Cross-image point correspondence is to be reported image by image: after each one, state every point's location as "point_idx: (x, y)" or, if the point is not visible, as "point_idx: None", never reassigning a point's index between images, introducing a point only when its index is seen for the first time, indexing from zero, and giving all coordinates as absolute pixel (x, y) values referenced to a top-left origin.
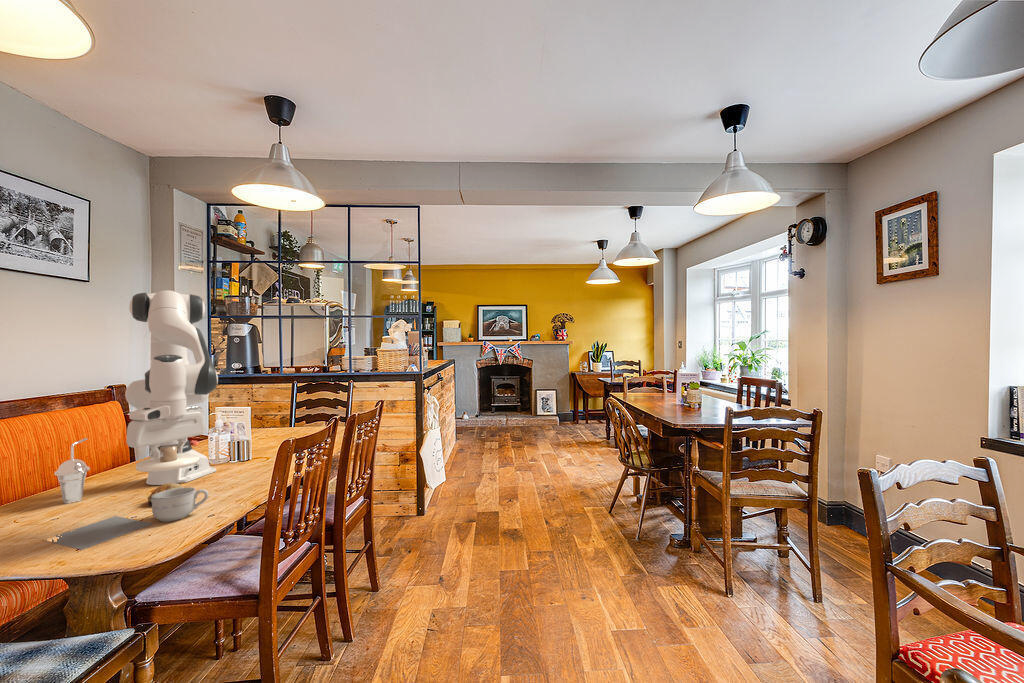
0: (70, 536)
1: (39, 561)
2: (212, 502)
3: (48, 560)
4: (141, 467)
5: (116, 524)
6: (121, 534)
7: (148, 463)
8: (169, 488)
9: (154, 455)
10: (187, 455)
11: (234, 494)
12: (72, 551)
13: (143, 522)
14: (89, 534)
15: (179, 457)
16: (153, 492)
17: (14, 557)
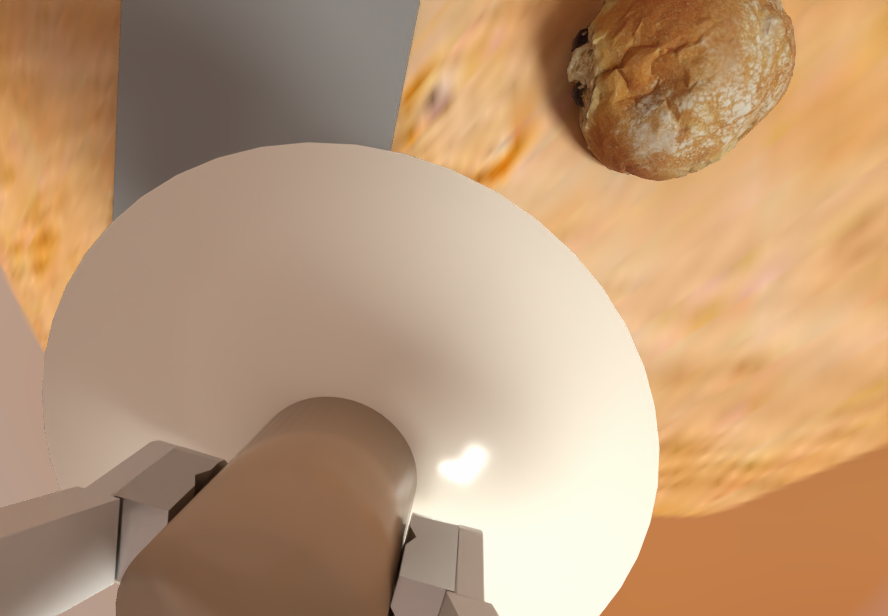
0: (182, 37)
1: (23, 153)
2: (646, 344)
3: (38, 179)
4: (46, 400)
5: (326, 123)
6: None
7: (171, 353)
8: (664, 107)
9: (129, 460)
10: (569, 525)
11: (769, 374)
12: (107, 193)
13: None
14: (216, 108)
15: (469, 499)
16: (625, 18)
17: (8, 4)
